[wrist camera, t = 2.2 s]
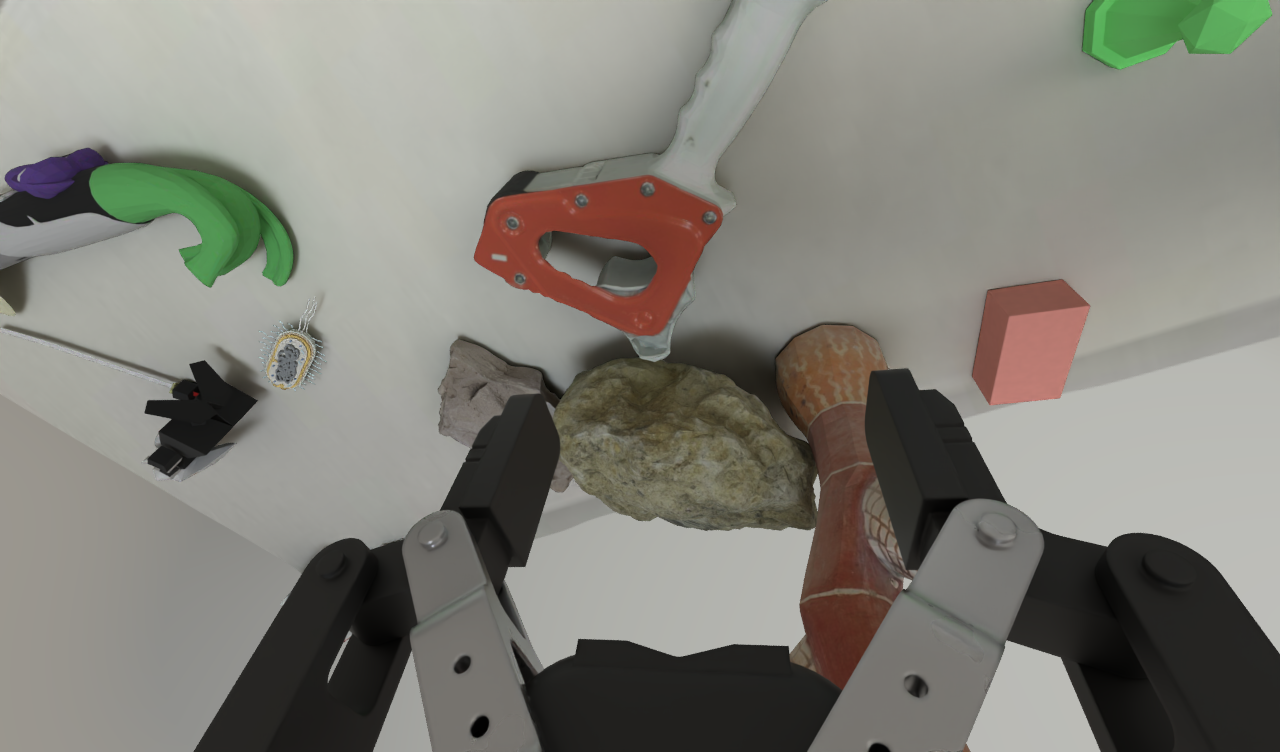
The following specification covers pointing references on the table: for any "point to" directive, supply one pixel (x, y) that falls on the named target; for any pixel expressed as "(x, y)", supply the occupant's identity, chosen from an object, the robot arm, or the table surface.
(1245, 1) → the game piece
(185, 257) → the toy
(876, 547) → the plant stem model
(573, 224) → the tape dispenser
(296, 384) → the bacterium model
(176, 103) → the table surface
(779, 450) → the rock
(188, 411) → the toy
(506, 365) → the stone
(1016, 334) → the eraser
